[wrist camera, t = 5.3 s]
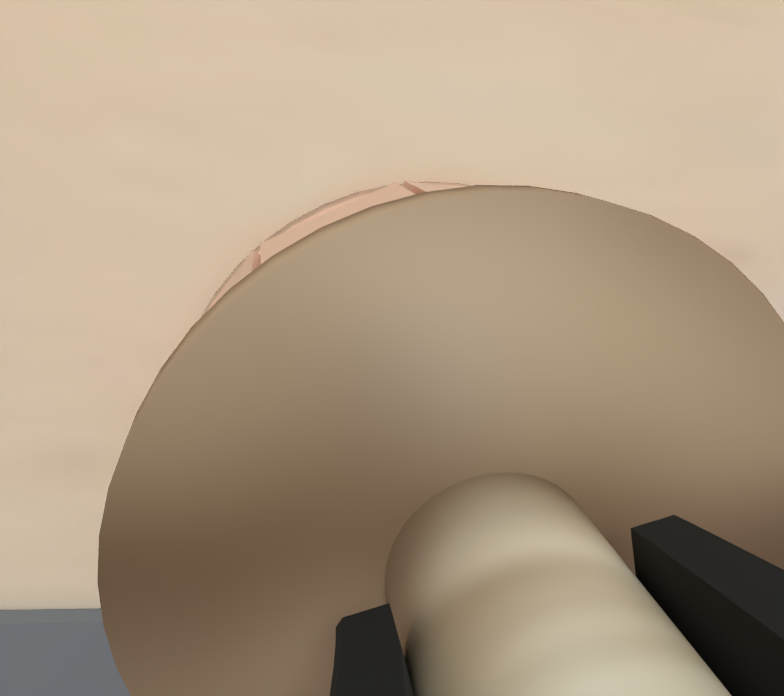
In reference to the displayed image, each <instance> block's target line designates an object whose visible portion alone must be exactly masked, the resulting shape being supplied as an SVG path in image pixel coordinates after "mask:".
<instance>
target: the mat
mask: <svg viewBox="0 0 784 696" xmlns="http://www.w3.org/2000/svg"><path fill="white" fill-rule="evenodd" d="M0 696H131V695H130V693H129V691H128V689H127V687H126V685H125V683H124V681H123V679H122V678H121V676H120V674H119V672H118V670H117V668H116V665H115V662H114V658H113V655H112V652H111V649H110V645H109V642H108V639H107V636H106V633H105V629H104V626H103V618H102V611H101V609H49V610H0Z"/></svg>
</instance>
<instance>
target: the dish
mask: <svg viewBox="0 0 784 696" xmlns="http://www.w3.org/2000/svg"><path fill="white" fill-rule="evenodd" d="M467 186H470V185H465V184H459V183H440V182H409V181H405V183H404V184H396V183H393V184H391V185H388V186H383V187H379V188H374V189H370V190H366V191H361V192H357V193H354V194H351V195H349V196H346V197H343V198H340V199H338V200H335V201H332V202H330V203H327V204H324V205H322V206H320V207H318V208H316V209H315V210H313V211H311V212H309V213H307V214H305V215H303V216H301V217H300V218H298V219H296V220H294V221H292V222H290V223H289V224H288V225H286V226H285V227H283V228H282V229H281V230H279V231H278V232H276V233H275V234H274V235H272V236H271V237H270V238H268V239H267V240H265V241H264V242H262V243H260V245H259V246H258V247H257V248H256V249H255V250H252V251H251V253H250V254H249V256H248V257H247V258H246V259H244V260H243V261H242V262H241V263H240V264H239V265H238V266H237V267H236V268H235V270H234V271H233V272H232V273H231V275H230V276H229V277H228V278H227V279H226V281H225V282H224V283H223V284H222V286H221V287H220V288H219V289H218V291H217V292H216V293H215V295H214V296H213V298H212V300H211V301H210V303H209V305H208V306H207V308H206V310H205V311H204V313H203V315H204V314H205V313H206V312H207V311H208V310H209V309H210V308H211V307H212V306H213V305H214V304H215V303H216V302H217V301H218V300H219V299H220V298H221V297H222V296H223V295H224V294H225V293H226V292H227V291H228V290H229V289H230V288H231V287H232V286H234V285H235V284H236V283H238V282H239V281H240V280H242V279H243V278H244V277H245V276H247V275H248V274H249V273H251V272H252V271H253V270H254V269H256V268H257V267H258V266H260V265H261V264H262V263H263V262H265V261H266V260H267V259H269V258H270V257H271V256H273V255H274V254H276V253H278V252H279V251H281V250H283V249H284V248H286V247H288V246H290V245H291V244H293V243H295V242H297V241H298V240H300V239H302V238H303V237H305V236H307V235H309V234H310V233H312V232H314V231H315V230H317V229H319V228H321V227H323V226H325V225H328V224H330V223H333V222H335V221H337V220H340V219H342V218H345V217H347V216H349V215H352V214H354V213H357V212H359V211H361V210H364V209H366V208H368V207H371V206H374V205H378V204H382V203H385V202H389V201H393V200H397V199H400V198H404V197H408V196H411V195H415V194H419V193H423V192H429V191H437V190H444V189H452V188H460V187H467ZM203 315H202V316H203ZM202 316H201V317H202Z"/></svg>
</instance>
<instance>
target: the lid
mask: <svg viewBox="0 0 784 696" xmlns="http://www.w3.org/2000/svg"><path fill="white" fill-rule="evenodd" d="M672 515H676V516H678V517H680V518H682V519H684V520H686V521H688V522H690V523H692V524H694V525H696V526H698V527H700V528H702V529H704V530H706V531H708V532H710V533H712V534H714V535H716V536H718V537H720V538H722V539H724V540H726V541H728V542H730V543H732V544H734V545H736V546H738V547H740V548H742V549H744V550H746V551H748V552H750V553H752V554H753V555H755V556H757V557H759V558H761V559H763V560H765V561H767V562H769V563H771V564H773V565H775V566H777V567H779V568H781V569H783V570H784V322H783V321H782V319H781V318H780V316H779V315H778V314H777V312H776V311H775V309H774V308H773V307H772V305H771V304H770V303H769V301H768V300H767V298H766V297H765V296H764V294H763V293H762V292H761V291H760V290H759V289H758V288H757V287H756V286H755V285H754V284H753V283H752V282H751V281H750V280H749V279H748V278H747V277H746V276H745V275H744V274H743V273H742V272H741V271H740V270H739V269H738V268H737V267H736V266H735V265H734V264H733V263H732V262H730V261H729V260H727V259H726V258H724V257H723V256H722V255H720V254H719V253H717V252H716V251H715V250H713V249H712V248H710V247H709V246H708V245H706V244H705V243H703V242H702V241H700V240H699V239H698V238H696V237H695V236H693V235H691V234H689V233H687V232H685V231H683V230H680V229H678V228H676V227H674V226H672V225H670V224H668V223H666V222H664V221H662V220H660V219H658V218H656V217H654V216H652V215H649V214H645V213H642V212H639V211H636V210H633V209H629V208H626V207H623V206H620V205H616V204H613V203H610V202H607V201H603V200H600V199H596V198H592V197H589V196H585V195H581V194H578V193H572V192H565V191H559V190H552V189H546V188H539V187H532V186H496V185H475V186H467V187H460V188H452V189H444V190H437V191H429V192H423V193H419V194H415V195H411V196H408V197H404V198H400V199H397V200H393V201H389V202H385V203H382V204H378V205H374V206H371V207H368V208H366V209H364V210H361V211H359V212H357V213H354V214H352V215H349V216H347V217H345V218H342V219H340V220H337V221H335V222H333V223H330V224H328V225H325V226H323V227H321V228H319V229H317V230H315V231H314V232H312V233H310V234H309V235H307V236H305V237H303V238H302V239H300V240H298V241H297V242H295V243H293V244H291V245H290V246H288V247H286V248H284V249H283V250H281V251H279V252H278V253H276V254H274V255H273V256H271V257H270V258H269V259H267V260H266V261H265V262H263V263H262V264H261V265H260V266H258V267H257V268H256V269H254V270H253V271H252V272H251V273H249V274H248V275H247V276H245V277H244V278H243V279H242V280H240V281H239V282H238V283H236V284H235V285H234V286H232V287H231V288H230V289H229V290H228V291H227V292H226V293H225V294H224V295H223V296H222V297H221V298H220V299H219V300H218V301H217V302H216V303H215V304H214V305H213V306H212V307H211V308H210V309H209V310H208V311H207V312H206V313H205V314H204V315H203V316H202V317H201V318H200V319H199V320H198V321H197V322H196V323H195V324H194V325H193V326H192V328H191V329H190V330H189V332H188V333H187V334H186V336H185V337H184V338H183V340H182V341H181V342H180V344H179V345H178V346H177V348H176V349H175V350H174V352H173V353H172V354H171V356H170V357H169V358H168V360H167V361H166V362H165V364H164V365H163V367H162V368H161V369H160V371H159V373H158V375H157V377H156V379H155V380H154V382H153V384H152V386H151V388H150V390H149V391H148V393H147V395H146V397H145V399H144V401H143V402H142V404H141V406H140V408H139V410H138V412H137V414H136V416H135V419H134V421H133V424H132V426H131V429H130V431H129V434H128V436H127V439H126V441H125V444H124V447H123V450H122V452H121V455H120V458H119V461H118V463H117V466H116V469H115V472H114V474H113V477H112V480H111V483H110V485H109V488H108V494H107V499H106V504H105V509H104V514H103V519H102V524H101V529H100V534H99V557H98V588H99V596H100V603H101V611H102V618H103V626H104V629H105V633H106V636H107V639H108V642H109V645H110V649H111V652H112V655H113V658H114V662H115V665H116V668H117V670H118V672H119V674H120V676H121V678H122V679H123V681H124V683H125V685H126V687H127V689H128V691H129V693H130V695H131V696H329V695H330V689H331V682H332V674H333V666H334V655H335V641H336V626H337V625H338V623H339V622H340V620H341V619H342V618H343V617H346V616H349V615H352V614H356V613H359V612H362V611H365V610H369V609H372V608H375V607H378V606H381V605H385V604H388V603H389V604H390V607H391V611H392V615H393V618H394V622H395V625H396V629H397V633H398V636H399V640H400V643H401V647H402V651H403V654H404V658H405V661H406V665H407V669H408V673H409V677H410V680H411V684H412V688H413V692H414V695H415V696H732V695H731V694H730V693H729V692H728V690H727V689H726V688H725V687H724V685H723V684H722V683H721V682H720V680H719V679H718V678H717V677H716V676H715V674H714V673H713V672H712V671H711V669H710V668H709V667H708V666H707V664H706V663H705V662H704V661H703V659H702V658H701V657H700V656H699V654H698V653H697V652H696V651H695V649H694V648H693V647H692V646H691V644H690V643H689V642H688V641H687V639H686V638H685V637H684V636H683V634H682V633H681V632H680V631H679V629H678V628H677V627H676V626H675V624H674V623H673V622H672V621H671V620H670V618H669V617H668V616H667V615H666V613H665V612H664V611H663V610H662V608H661V607H660V606H659V605H658V603H657V602H656V601H655V600H654V598H653V597H652V596H651V595H650V593H649V592H648V591H647V590H646V588H645V587H644V586H643V585H642V583H641V582H640V581H639V580H638V578H637V577H636V574H635V565H634V556H633V547H632V538H631V529H630V528H633V527H636V526H639V525H643V524H646V523H649V522H652V521H655V520H659V519H662V518H665V517H668V516H672Z"/></svg>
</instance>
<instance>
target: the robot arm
mask: <svg viewBox="0 0 784 696" xmlns="http://www.w3.org/2000/svg"><path fill="white" fill-rule="evenodd" d="M630 529H631V538H632V547H633V556H634V565H635V574H636V577H637V578H638V580H639V581H640V582H641V583H642V585H643V586H644V587H645V588H646V590H647V591H648V592H649V593H650V595H651V596H652V597H653V598H654V600H655V601H656V602H657V603H658V605H659V606H660V607H661V608H662V610H663V611H664V612H665V613H666V615H667V616H668V617H669V618H670V620H671V621H672V622H673V623H674V624H675V626H676V627H677V628H678V629H679V631H680V632H681V633H682V634H683V636H684V637H685V638H686V639H687V641H688V642H689V643H690V644H691V646H692V647H693V648H694V649H695V651H696V652H697V653H698V654H699V656H700V657H701V658H702V659H703V661H704V662H705V663H706V664H707V666H708V667H709V668H710V669H711V671H712V672H713V673H714V674H715V676H716V677H717V678H718V679H719V680H720V682H721V683H722V684H723V685H724V687H725V688H726V689H727V690H728V692H729V693H730V694H731V695H732V696H784V570H783V569H781V568H779V567H777V566H775V565H773V564H771V563H769V562H767V561H765V560H763V559H761V558H759V557H757V556H755V555H753V554H752V553H750V552H748V551H746V550H744V549H742V548H740V547H738V546H736V545H734V544H732V543H730V542H728V541H726V540H724V539H722V538H720V537H718V536H716V535H714V534H712V533H710V532H708V531H706V530H704V529H702V528H700V527H698V526H696V525H694V524H692V523H690V522H688V521H686V520H684V519H682V518H680V517H678V516H676V515H672V516H668V517H665V518H662V519H659V520H655V521H652V522H649V523H646V524H643V525H639V526H636V527H633V528H630ZM329 696H415V695H414V692H413V688H412V684H411V680H410V677H409V673H408V669H407V665H406V661H405V658H404V654H403V651H402V647H401V643H400V640H399V636H398V633H397V629H396V625H395V622H394V618H393V615H392V611H391V607H390V604H389V603H388V604H385V605H381V606H378V607H375V608H372V609H369V610H365V611H362V612H359V613H356V614H352V615H349V616H346V617H343V618H342V619H341V620H340V622H339V623H338V625H337V626H336V641H335V655H334V666H333V674H332V682H331V689H330V695H329Z"/></svg>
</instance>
